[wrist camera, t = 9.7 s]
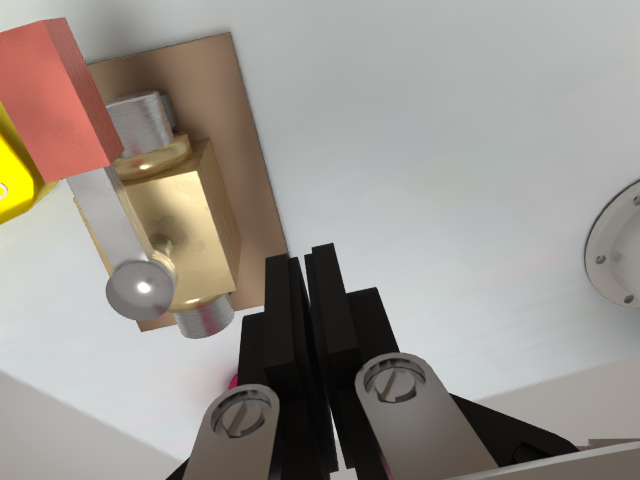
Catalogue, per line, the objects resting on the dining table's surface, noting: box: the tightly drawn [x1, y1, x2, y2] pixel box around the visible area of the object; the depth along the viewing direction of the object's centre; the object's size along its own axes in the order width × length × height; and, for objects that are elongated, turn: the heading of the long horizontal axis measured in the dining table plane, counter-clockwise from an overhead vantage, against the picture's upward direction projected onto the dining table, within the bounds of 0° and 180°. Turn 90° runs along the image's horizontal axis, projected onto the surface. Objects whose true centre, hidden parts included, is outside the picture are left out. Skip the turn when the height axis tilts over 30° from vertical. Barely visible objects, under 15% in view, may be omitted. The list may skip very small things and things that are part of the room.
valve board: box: [87, 32, 290, 332], centre depth 36 cm, size 13×20×2 cm, turn 11°
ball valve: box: [73, 90, 242, 339], centre depth 31 cm, size 7×16×10 cm, turn 12°
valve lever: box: [0, 18, 178, 321], centre depth 23 cm, size 14×3×2 cm, turn 15°
